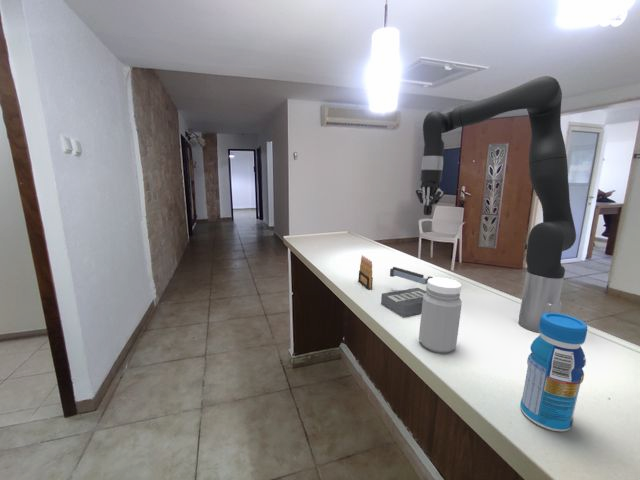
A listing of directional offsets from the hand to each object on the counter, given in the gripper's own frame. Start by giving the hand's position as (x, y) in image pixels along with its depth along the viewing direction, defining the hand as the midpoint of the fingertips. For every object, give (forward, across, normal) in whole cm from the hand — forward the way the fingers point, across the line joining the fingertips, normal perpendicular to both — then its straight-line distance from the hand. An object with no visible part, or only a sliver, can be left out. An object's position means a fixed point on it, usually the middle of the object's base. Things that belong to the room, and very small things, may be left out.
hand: (427, 215), depth 120 cm
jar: (+31, -34, +26) cm, 53 cm away
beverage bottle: (+31, -62, +27) cm, 74 cm away
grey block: (+31, -11, +14) cm, 36 cm away
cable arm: (+25, -2, +9) cm, 26 cm away
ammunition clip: (+31, +14, +17) cm, 38 cm away
